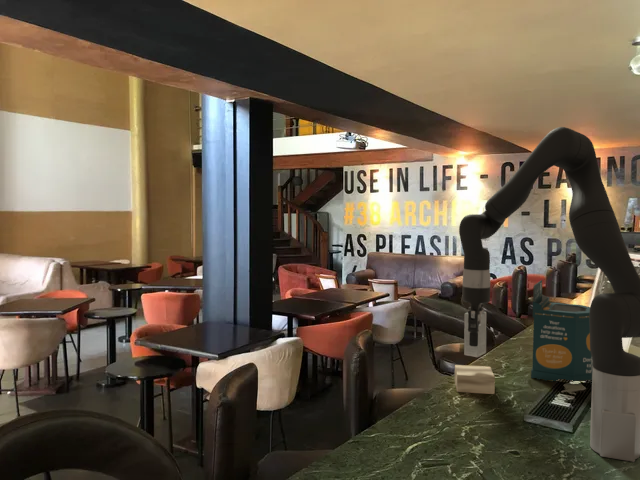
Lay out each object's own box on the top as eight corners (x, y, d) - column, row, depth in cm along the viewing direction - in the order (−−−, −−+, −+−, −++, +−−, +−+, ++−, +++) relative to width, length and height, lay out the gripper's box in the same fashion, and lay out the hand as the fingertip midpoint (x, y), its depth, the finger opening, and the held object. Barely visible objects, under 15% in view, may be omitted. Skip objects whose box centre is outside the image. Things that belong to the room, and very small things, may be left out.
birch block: (494, 395, 145) (494, 377, 145) (456, 392, 147) (457, 374, 147) (489, 383, 155) (490, 366, 155) (454, 381, 157) (454, 364, 157)
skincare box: (472, 350, 154) (472, 310, 154) (486, 353, 151) (487, 311, 151) (463, 355, 150) (464, 313, 149) (477, 357, 147) (478, 315, 146)
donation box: (539, 364, 173) (541, 279, 172) (594, 372, 165) (597, 283, 163) (530, 378, 159) (533, 285, 158) (590, 387, 151) (593, 290, 149)
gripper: (487, 289, 141) (486, 350, 142) (492, 282, 155) (491, 338, 155) (459, 287, 144) (457, 347, 145) (466, 281, 157) (465, 336, 158)
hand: (475, 342), depth 150 cm, fingers closed on skincare box, 7 cm apart
